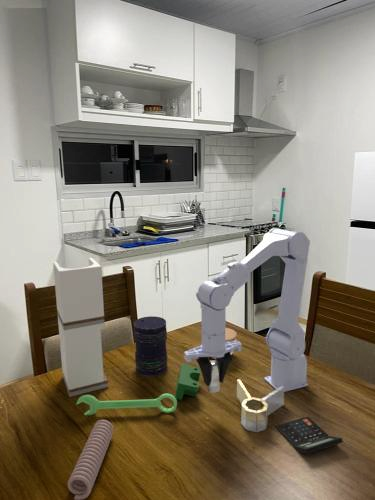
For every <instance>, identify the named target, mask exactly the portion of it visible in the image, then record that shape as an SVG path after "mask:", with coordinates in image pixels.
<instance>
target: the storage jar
mask: <svg viewBox="0 0 375 500" xmlns="http://www.w3.org/2000/svg"><path fill="white" fill-rule="evenodd" d="M167 332H168V330H167V320H166V319H165V318H163V317H159V316H153V315H151V316H143V317H140V318H137V319H136V320H135V321H134V322H133V336H134V337H133V339H134V342H135V352H134V357H135V358H134V363H135V371H136V372H137V374H139V375H140V376H144V377H156V376H160V375H162V374H164V373H166V371H167V370H168V350H167V340H168V336H167V335H168V334H167Z"/></svg>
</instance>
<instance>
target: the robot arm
mask: <svg viewBox="0 0 375 500" xmlns="http://www.w3.org/2000/svg"><path fill="white" fill-rule="evenodd" d="M310 242H311V240H310V239H309V238H308V236H307V235H306V234H305V232H302V231H294V230H287V229H282V228H279V227H273V228H271V229H269V231H268V232H267V233H265V234H264V235H263V238H262V241H261V242H260V243H259V244H257V246H255V247H254V248H253V249H252V250H251V252H249V254H248V255H247V256H245V257H244V258H243V259H242V260H241V261H233V262H229V263H228V264H227V267H225V268H224V269H223V270H222V271H221V272H220V273H218V275H215V276H214V277H213V278H212V280H206V281H204V282H203V283H201V284H200V286H199V287H198V289H197V292H196V293H195V296H196V299H197V301H198V302H199V303H200V304H199V305H200V309H201V312H200V313H201V345H199V346H196V347H194V348H191V349H188V350H185V351H184V352H183V355H184V361H186V362H187V363H191V362H192V361H194V360H196V362H197V364H198V367H199V369H200V373H201V375H202V379H203V382H204V385H206V386H209V385H210V372H211V366H212V363H211V362H210V361H211V360H210V357H211V358H212V357H216V359H215V361H218V362H219V363H220V384H221V383H224V379H225V376H226V373H227V370H228V368H229V366H230V364H231V363H232V362H233V359H234V358H233V357H234V356H233V355H232V354H230V352H233V351H234V352H242V350H243V346H242V343H241V342H240V341H239V340H236V341H234V342H225V328H226V315H227V314H226V308H227V307H229V305H230V303H231V301H232V298H233V296H234V294H235V293H236V292H237V291H238V290H239V289H240V288H242V287H243V286H244V285H245V284H246V283H247V282H248V281H249V280H250V278H251V273H252V272H253V271H254V270H255V269H257V268H258V267H260V266H261V265H262V264H263V263H265V262H267V260H269V259H270V258H272V257H273V256H274V257H280V259H281V260H282V261H283V262H284V264H285V267H284V275H283V281H282V288H281V295H280V302H279V308H278V314H277V319H276V320H274V321H272V322H270V325H269V330H268V332H267V334H266V337H265V343H266V345H267V346H268V347H269V352H271V358H270V359H271V361H270V375H268V376H264V380H265V382H266V383H268V385H269V384H270V385H271V387H272V388H274V389H275V390H276V389H278V388H279V387H281V386H283V387H284V393H285V392H289V391H292V390H297V389H301V388H304V387H308V386H309V384H308V382H307V376H308V375H307V372H308V371H307V369H308V362H307V358H306V356H305V354H304V352H305V350H306V340H305V339H306V338H305V336H306V332H305V331H304V329H303V327H302V326H301V325H300V323H299V317H300V312H301V311H300V310H301V305H302V299H303V298H302V297H303V291H304V285H305V278H306V271H307V267H308V257H309V250H310ZM234 352H233V353H234Z"/></svg>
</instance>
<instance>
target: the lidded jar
mask: <svg viewBox="0 0 375 500" xmlns="http://www.w3.org/2000/svg"><path fill="white" fill-rule="evenodd" d="M237 337H238V333H237V332H236V330H234V329H232V328H229V327H225V342H234V341H237ZM234 352H235V351H233V352H230V354H231V355H232V354H233V353H234ZM211 358H212V359H214V360H216V357H211Z"/></svg>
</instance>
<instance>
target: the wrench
mask: <svg viewBox="0 0 375 500" xmlns="http://www.w3.org/2000/svg"><path fill="white" fill-rule="evenodd" d="M166 398H167V399H170V400H171V401H172V402H173V406H172V407H170V408H168V407H165V406H164V405H162V402H161V401H162V400H163V399H166ZM81 403H85V404H86V405H88V406H89V410H87V411H85V412H84V416H92V415H94V414H96V412H97V411H98V410H102V409H103V410H105V409H106V410H107V409H131V408H133V409H134V408H135V409H136V408H137V409H139V408H158V409H159V410H160V411H161V412H163V413H166V414H168V413H169V414H170V413H172V412H174V411H176V409H177V405H178V399H176V398H175V395H173V394H171V393H166V392H165V393H162V394H161V395H160V396H159V397H157V398H154V399H153V398H151V399H130V400H129V399H126V400H125V399H124V400H100V399H99V400H98V399H97V398H96V397H95V396H94V395H91V394H84V395H83V394H82V395H81V396H80V397H79V398H78V399H77V401H76V405H79V404H81Z"/></svg>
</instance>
